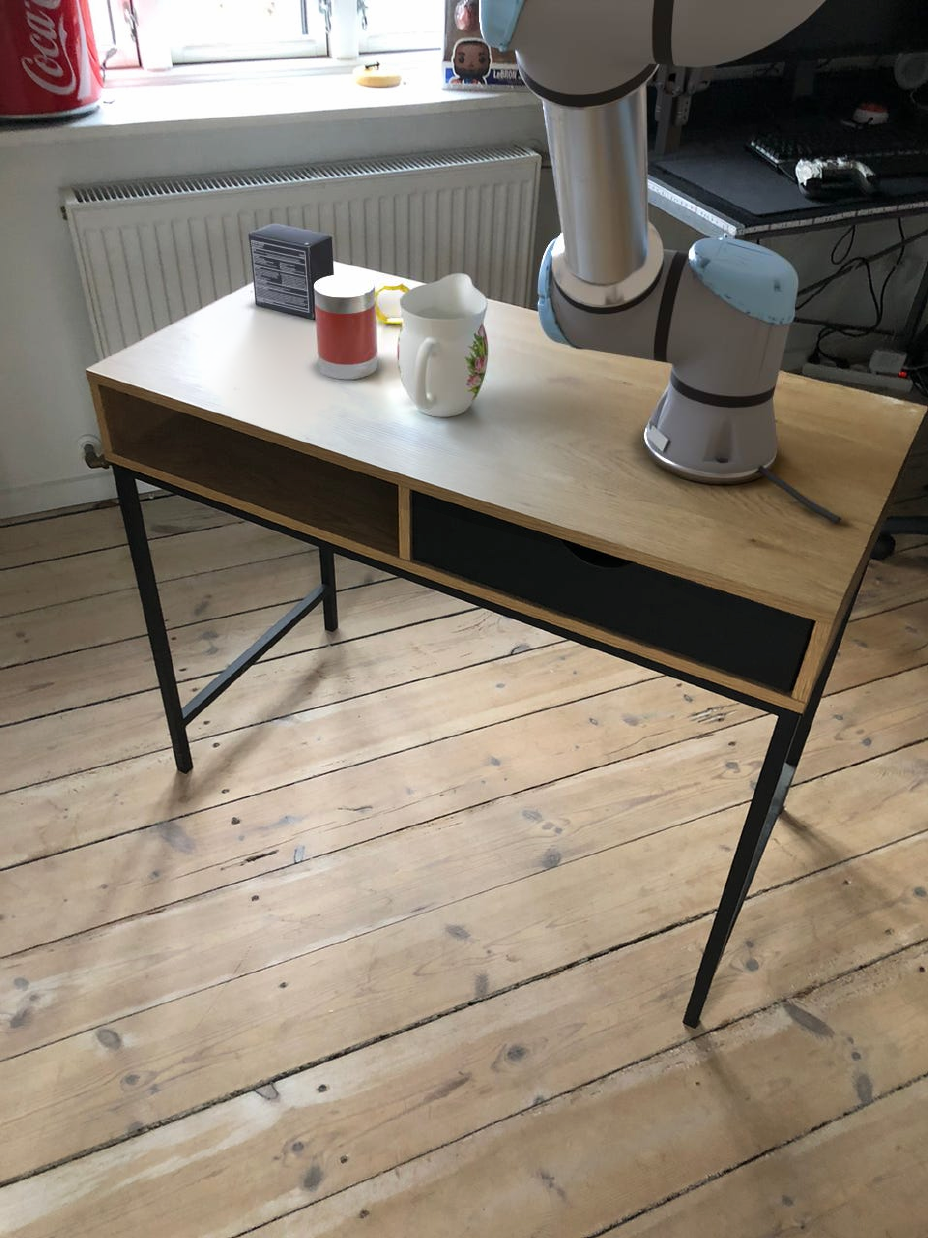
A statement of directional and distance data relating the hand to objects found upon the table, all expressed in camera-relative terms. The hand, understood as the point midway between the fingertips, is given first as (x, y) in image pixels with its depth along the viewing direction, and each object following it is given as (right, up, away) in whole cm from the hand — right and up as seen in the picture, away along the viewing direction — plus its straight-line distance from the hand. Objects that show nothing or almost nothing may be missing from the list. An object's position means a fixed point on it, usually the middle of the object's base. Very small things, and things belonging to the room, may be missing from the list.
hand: (666, 151), depth 124 cm
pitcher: (-27, -30, +4) cm, 41 cm away
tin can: (-40, -23, +12) cm, 47 cm away
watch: (-34, -14, +23) cm, 44 cm away
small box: (-49, -10, +27) cm, 57 cm away
